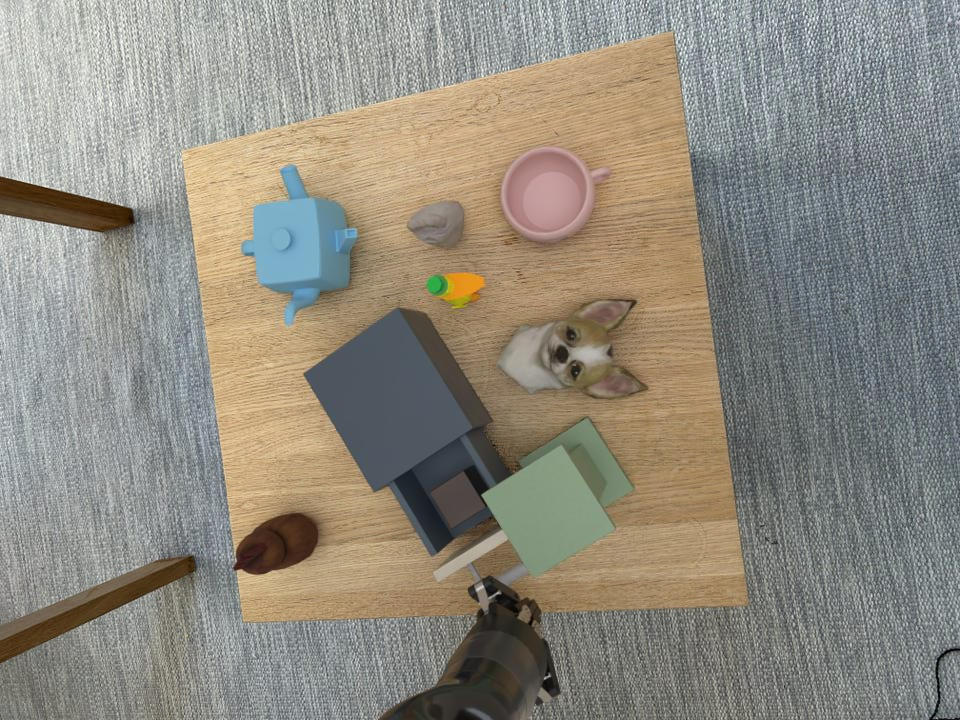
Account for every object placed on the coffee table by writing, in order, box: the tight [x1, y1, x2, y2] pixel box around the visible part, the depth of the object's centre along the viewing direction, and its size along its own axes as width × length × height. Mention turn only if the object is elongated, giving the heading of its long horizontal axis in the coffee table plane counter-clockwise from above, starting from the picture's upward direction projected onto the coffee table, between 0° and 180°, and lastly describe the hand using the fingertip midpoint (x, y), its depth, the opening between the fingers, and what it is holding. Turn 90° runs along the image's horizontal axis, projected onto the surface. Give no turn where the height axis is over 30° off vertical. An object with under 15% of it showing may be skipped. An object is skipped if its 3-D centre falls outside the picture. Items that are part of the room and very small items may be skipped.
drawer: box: [387, 427, 530, 587], centre depth 82 cm, size 18×11×8 cm, turn 33°
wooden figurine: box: [232, 512, 319, 576], centre depth 84 cm, size 7×6×15 cm
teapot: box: [240, 164, 359, 327], centre depth 86 cm, size 18×14×10 cm
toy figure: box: [426, 272, 486, 310], centre depth 81 cm, size 7×4×12 cm, turn 98°
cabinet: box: [302, 306, 494, 493], centre depth 83 cm, size 15×13×10 cm
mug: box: [499, 144, 613, 244], centre depth 81 cm, size 12×10×6 cm
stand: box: [481, 416, 636, 579], centre depth 73 cm, size 9×9×22 cm
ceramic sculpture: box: [496, 298, 650, 401], centre depth 80 cm, size 11×9×15 cm
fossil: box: [406, 200, 466, 249], centre depth 82 cm, size 6×4×10 cm, turn 123°
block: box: [429, 465, 489, 529], centre depth 82 cm, size 4×4×4 cm
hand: (529, 609), depth 79 cm, fingers closed
